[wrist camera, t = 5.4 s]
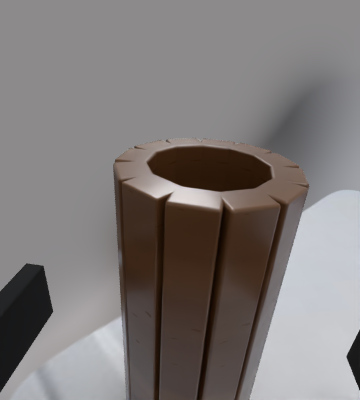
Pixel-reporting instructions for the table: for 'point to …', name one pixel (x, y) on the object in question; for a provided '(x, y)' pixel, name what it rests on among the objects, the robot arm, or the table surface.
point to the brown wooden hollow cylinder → (201, 263)
